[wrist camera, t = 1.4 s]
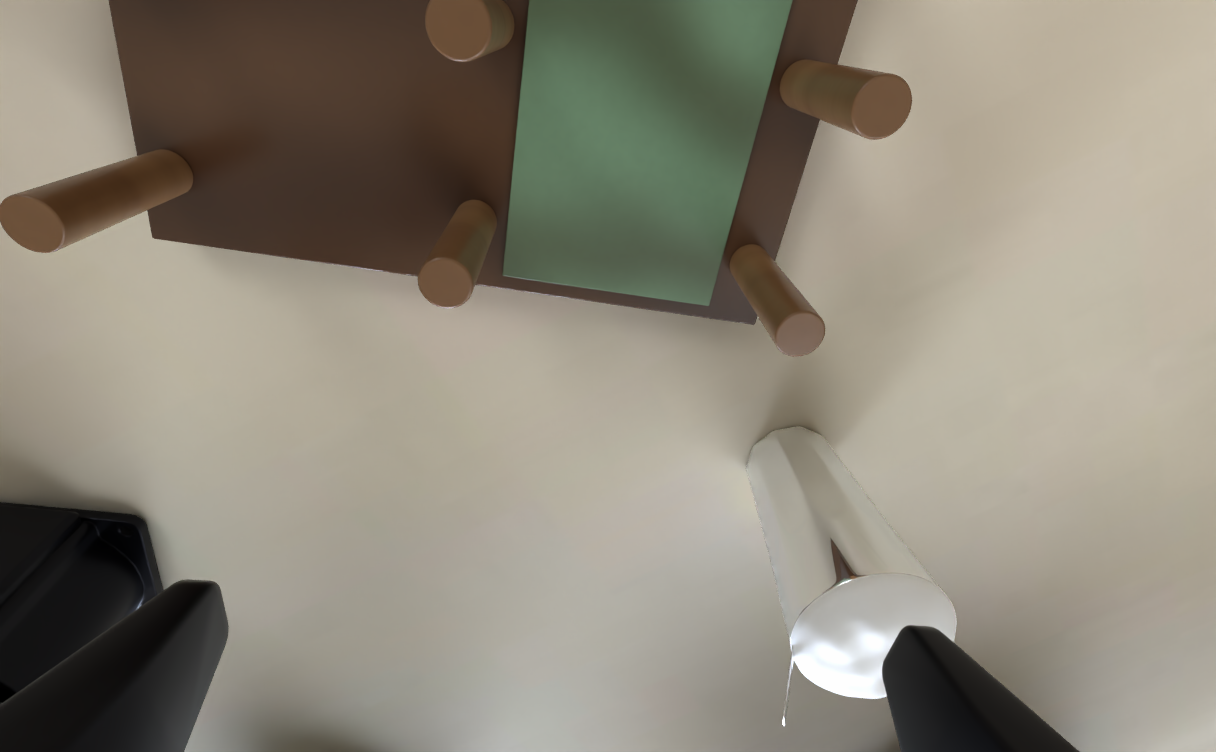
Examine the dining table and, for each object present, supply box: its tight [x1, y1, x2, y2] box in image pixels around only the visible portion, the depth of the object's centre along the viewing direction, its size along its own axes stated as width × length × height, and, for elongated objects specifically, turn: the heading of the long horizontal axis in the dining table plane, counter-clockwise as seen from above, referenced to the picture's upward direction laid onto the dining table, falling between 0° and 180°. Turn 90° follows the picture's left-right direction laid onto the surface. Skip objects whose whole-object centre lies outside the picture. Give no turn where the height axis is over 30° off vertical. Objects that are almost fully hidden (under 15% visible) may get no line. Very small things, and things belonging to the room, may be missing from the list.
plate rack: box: [0, 0, 912, 356], centre depth 14 cm, size 14×18×6 cm
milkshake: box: [746, 426, 957, 726], centre depth 20 cm, size 4×5×10 cm
